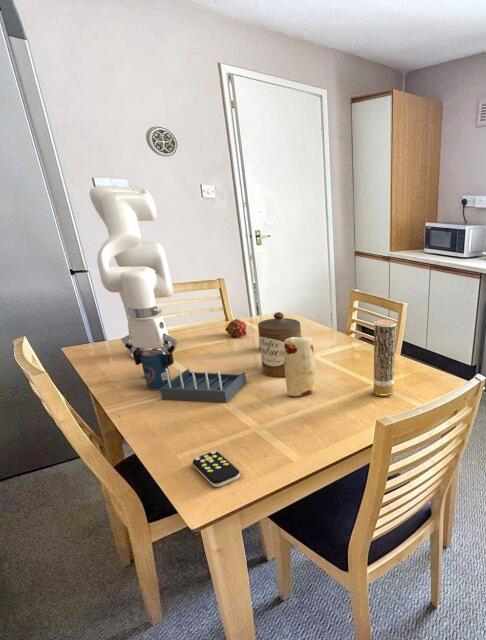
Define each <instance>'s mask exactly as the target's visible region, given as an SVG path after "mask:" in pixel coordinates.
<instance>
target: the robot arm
mask: <svg viewBox="0 0 486 640" xmlns="http://www.w3.org/2000/svg"><path fill="white" fill-rule="evenodd" d="M89 197H90V198H89V199H90V200H91V203H92V205H93V208H94V210H95V211H96V213H97V214H98V216H99V218H100V219H101V220H102V222H103V224H104V225H105V227H106V229H107V233H108V238H107V239H106V240H105V241H103V243H102V244H101V246H100V248H99V250H98V252H97V259H96V261H97V266H98V271H99V276H100V281H101V282H102V286H103V288H104V289H105V290H106V291H108V292H110V293H118V294H119V296H120V299H121V302H122V305H123V308H124V311H125V315H126V319H127V329H128V334H127V335H126V336H124V337H121V338H120V341H121V342H122V344H123V345H124V346H125V348H126V349H127V350H128V351H129V352H130V357H131V359H133V361H134V364H135V365H136V366H138V365H139V366H140V364H141V365H142V362H141V357H142V351H141V350H139V349H140V348H149V349H157V350H162V351H163V353H164V354H165V355H164V359H165V364H166V366H168V367H170V366H172V365H173V364H174V361H175V360H174V356H173V355H174V354H173V352H174V351H175V350H176V349H177V346H178V344H179V340H178V339H176V338H174V337H172V336H170V335H169V331H168V328H167V325H166V323H165V321H164V318H163V316H162V315H160V314H162V310H161V309H159V308H158V306H157V301H156V299H163V298H169V297H172V296H173V292H174V287H173V282H172V277H171V273H170V268H169V263H168V258H167V255H166V251H165V248H164V247H163V246H162V244H161V243H159V242H158V241H149V240H146V241H145V240H143V241H142V235H141V230H140V225H139V222H155V220H156V219H157V206H156V204H155V200H154V199H153V197H152V194H151V193H150V192H149V190H147V189H146V188H143V187H132V186H131V187H130V186H115V185H97V186H93V187H91V188H90V189H89ZM113 258H114V260H115V263H116V265H117V266H111V267H110V261H111V260H112V259H113Z"/></svg>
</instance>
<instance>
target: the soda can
mask: <svg viewBox="0 0 486 640" xmlns="http://www.w3.org/2000/svg"><path fill="white" fill-rule="evenodd" d="M164 355H165V354H164V353H163V351H162V350H148V351H145V352H143V353H142V357H141V362H142V363H141V367H142V370H143V375H144V379H145V384H146V386H147V387H148V388H149V389H150V390H152V391H160V388H161V387H163V386H164V385H165V384H167V383H168V379H167V375H166V370H165V369H168V373H169V378H170V381H171V380H172V379H171V374H170V370H169V366H166V364H165V359H164Z"/></svg>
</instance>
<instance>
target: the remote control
mask: <svg viewBox="0 0 486 640" xmlns="http://www.w3.org/2000/svg"><path fill="white" fill-rule="evenodd" d="M192 466H193V468H195V470H197V472H198V473H200V475H201V476H202V477H204V479H205V480H206V481H207V482H208V483H209V484H210V485H211V486H213V487H215V488H219V487H223V486H225V485H227V484H230V483H232V482H234V481H236V480H237V479H239V478H240V475H241V474H240V470H239V468H237V467H236V466H234V465H233V463H231V462H230V461H229V460H228V459H227V458H226V457H225V456H223V454H221V453H220V452H219V451H214V450H213V451H210V452H207V453H205V454H203V455H200V456H197V457H195V458H194V459H193V460H192Z"/></svg>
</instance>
